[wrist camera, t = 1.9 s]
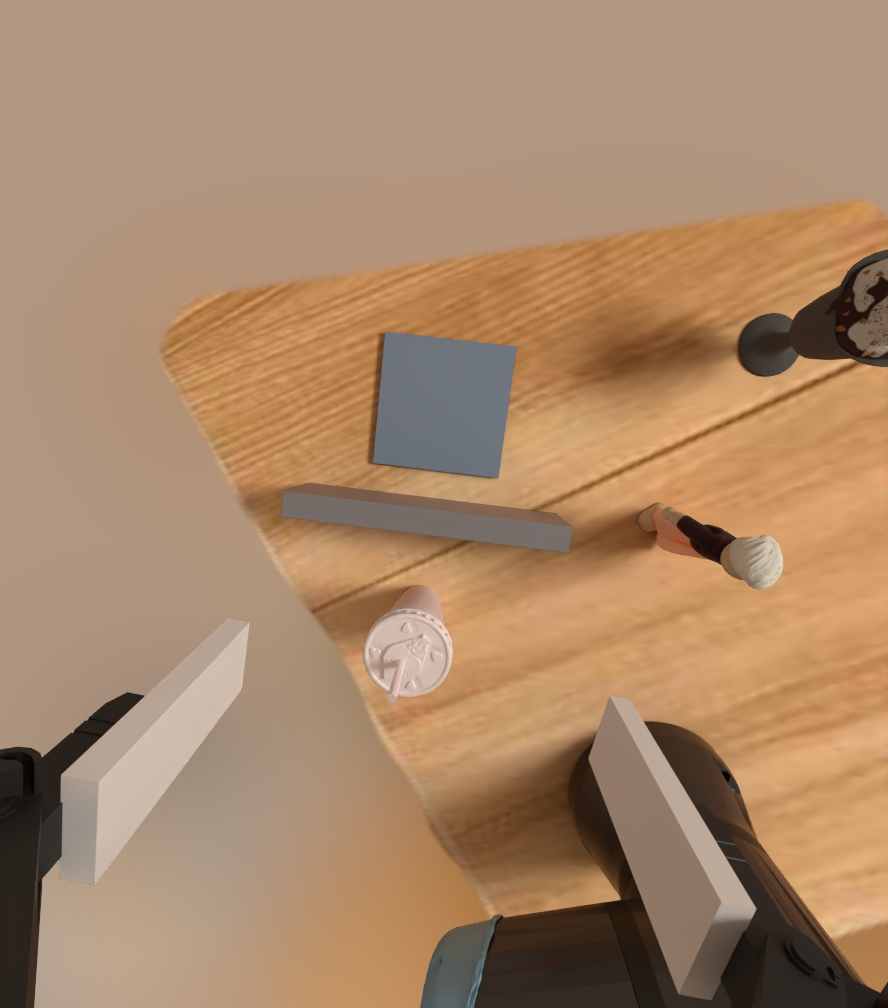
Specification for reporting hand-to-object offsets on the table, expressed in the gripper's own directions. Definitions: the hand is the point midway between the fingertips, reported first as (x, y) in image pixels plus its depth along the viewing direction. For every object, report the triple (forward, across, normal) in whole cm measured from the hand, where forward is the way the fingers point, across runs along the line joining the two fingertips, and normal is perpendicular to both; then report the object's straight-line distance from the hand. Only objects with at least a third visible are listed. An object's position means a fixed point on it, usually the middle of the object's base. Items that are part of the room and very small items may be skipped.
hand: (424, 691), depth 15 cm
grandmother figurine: (+24, -20, -4) cm, 31 cm away
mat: (+24, +2, -10) cm, 26 cm away
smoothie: (+24, 0, +8) cm, 25 cm away
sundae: (+25, -23, -20) cm, 39 cm away
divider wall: (+24, +1, -1) cm, 24 cm away
